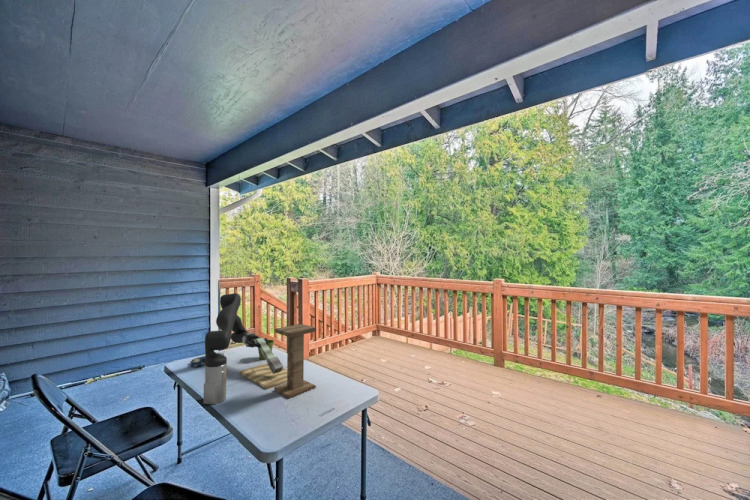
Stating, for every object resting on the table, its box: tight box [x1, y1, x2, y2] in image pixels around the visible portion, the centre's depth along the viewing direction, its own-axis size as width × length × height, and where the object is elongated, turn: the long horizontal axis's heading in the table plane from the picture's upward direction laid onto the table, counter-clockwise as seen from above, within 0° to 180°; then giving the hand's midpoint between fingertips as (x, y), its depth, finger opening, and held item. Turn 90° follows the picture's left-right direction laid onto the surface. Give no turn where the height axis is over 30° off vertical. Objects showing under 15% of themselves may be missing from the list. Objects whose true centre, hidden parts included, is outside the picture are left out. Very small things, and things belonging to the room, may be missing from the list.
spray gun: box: [190, 352, 225, 368], centre depth 197 cm, size 21×4×15 cm
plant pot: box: [257, 339, 275, 361], centre depth 206 cm, size 12×12×11 cm
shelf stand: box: [273, 323, 317, 400], centre depth 158 cm, size 14×16×32 cm
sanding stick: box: [256, 337, 284, 374], centre depth 176 cm, size 26×5×4 cm, turn 48°
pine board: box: [239, 363, 287, 390], centre depth 175 cm, size 32×20×2 cm, turn 48°
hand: (264, 345), depth 180 cm, fingers closed on sanding stick, 4 cm apart
